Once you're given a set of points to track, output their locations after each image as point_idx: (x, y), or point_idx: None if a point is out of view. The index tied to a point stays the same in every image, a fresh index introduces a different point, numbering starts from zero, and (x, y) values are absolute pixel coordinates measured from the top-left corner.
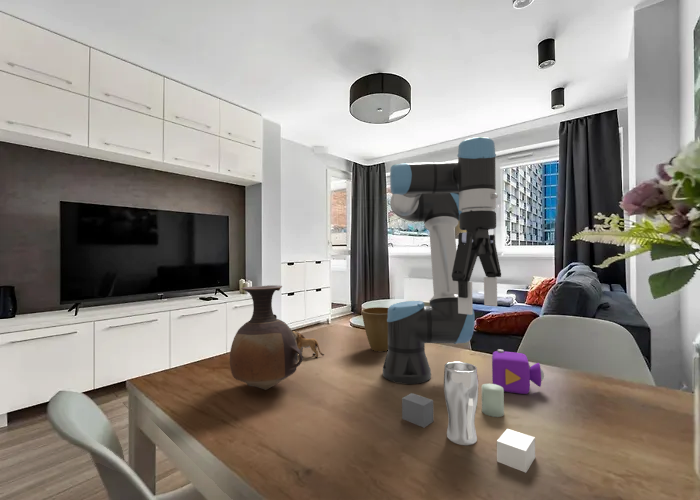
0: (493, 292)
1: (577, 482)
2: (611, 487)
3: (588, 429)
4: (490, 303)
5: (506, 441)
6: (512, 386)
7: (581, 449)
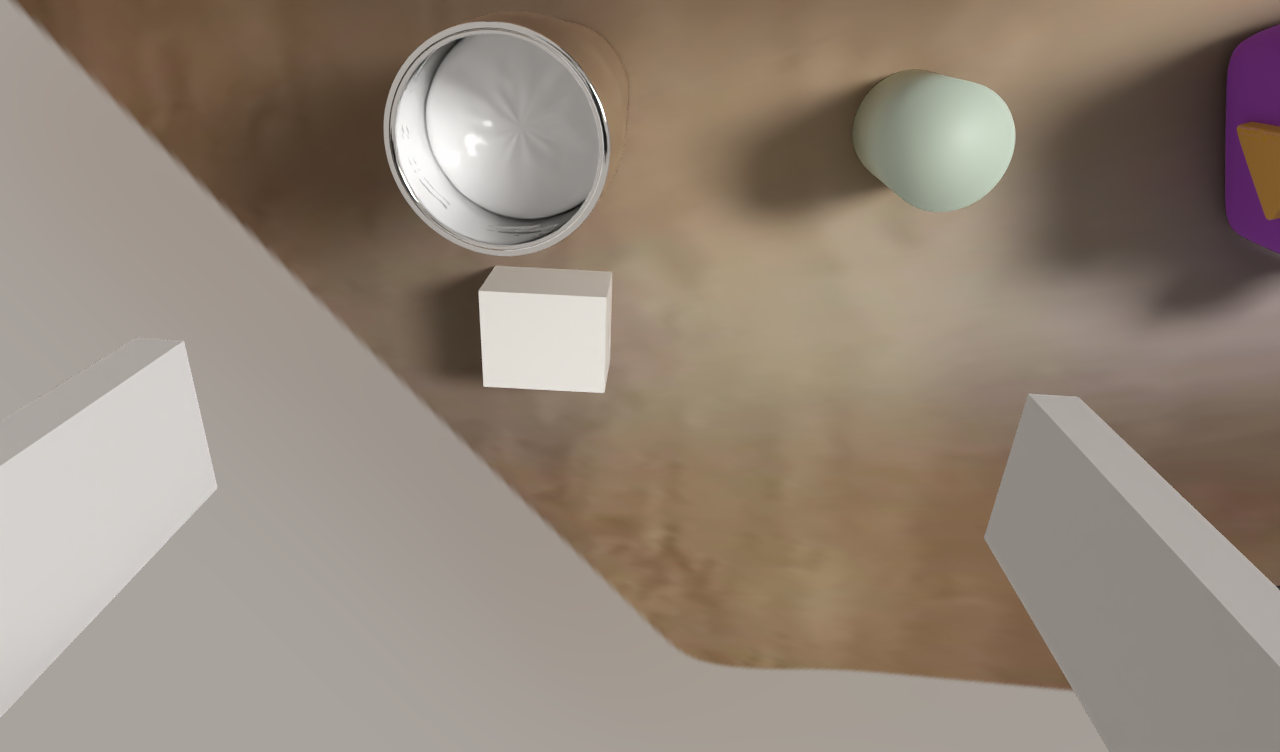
0: (1086, 655)
1: (554, 470)
2: (591, 534)
3: (936, 473)
4: (1014, 493)
5: (499, 320)
6: (1240, 158)
7: (761, 465)
